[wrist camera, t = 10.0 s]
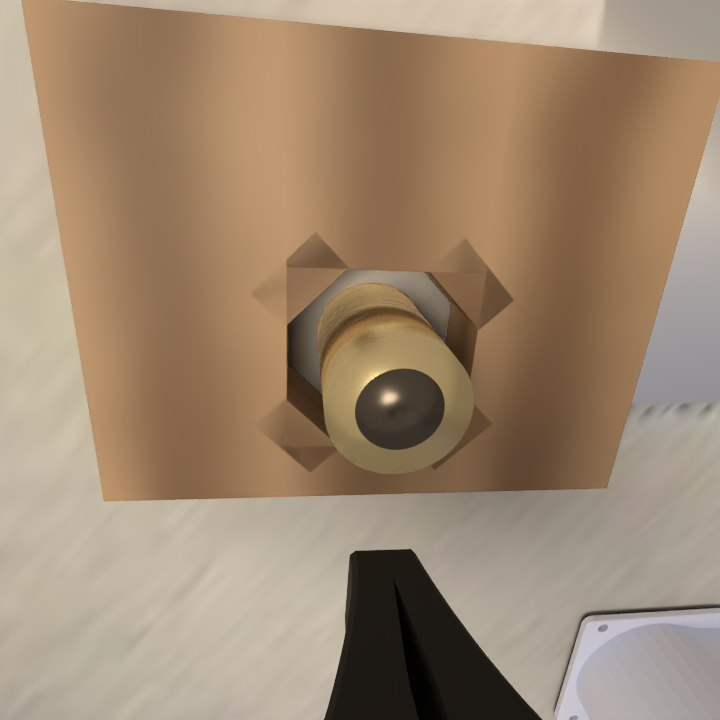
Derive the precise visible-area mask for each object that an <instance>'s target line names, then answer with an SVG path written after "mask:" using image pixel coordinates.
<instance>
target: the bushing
mask: <svg viewBox="0 0 720 720" xmlns="http://www.w3.org/2000/svg"><path fill="white" fill-rule="evenodd" d="M317 345H318V355H319V365H320V376H321V386H322V396H323V407H324V417H325V424H326V428H327V432H328V434H329V437H330V439H331V441H332V442H333V444H334V446H335V447H336V448H337V450H338V451H339V452H340V453H341V454H342V455H343V456H344V457H345V458H346V459H348V460H349V461H350V462H352V463H353V464H355V465H357V466H359V467H361V468H363V469H366V470H368V471H372V472H376V473H382V474H403V473H409V472H414V471H417V470H420V469H423V468H425V467H428V466H430V465H432V464H434V463H435V462H437V461H439V460H440V459H442V458H443V457H444V456H446V455H447V454H448V453H449V452H450V451H451V450H452V449H454V447H455V446H456V445H457V444H458V443H459V442H460V440H461V439H462V437H463V436H464V434H465V432H466V430H467V428H468V426H469V424H470V421H471V418H472V414H473V409H474V394H473V388H472V384H471V381H470V378H469V376H468V374H467V372H466V370H465V369H464V367H463V366H462V364H461V363H460V362H459V361H458V359H457V358H456V357H455V355H454V354H453V353H452V352H451V350H450V349H449V348H448V347H447V345H446V344H445V343H444V342H443V340H442V339H441V338H440V337H439V335H438V334H437V333H436V331H435V330H434V329H433V328H432V326H431V325H430V324H429V323H428V321H427V320H426V319H425V318H424V316H423V315H422V314H421V313H420V311H419V310H418V309H417V307H416V306H415V305H414V304H413V302H412V301H411V300H410V299H409V298H408V297H407V296H406V295H405V294H403V293H402V292H400V291H399V290H397V289H395V288H393V287H390V286H387V285H383V284H375V283H369V284H361V285H357V286H354V287H351V288H349V289H347V290H345V291H343V292H342V293H340V294H338V295H337V296H336V297H335V298H334V299H333V300H332V301H331V302H330V303H329V304H328V305H327V307H326V308H325V310H324V312H323V313H322V315H321V318H320V321H319V324H318V329H317Z"/></svg>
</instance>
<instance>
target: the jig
mask: <svg viewBox="0 0 720 720" xmlns="http://www.w3.org/2000/svg"><path fill="white" fill-rule="evenodd" d="M21 1H22V7H23V13H24V19H25V26H26V32H27V38H28V44H29V50H30V56H31V62H32V68H33V74H34V80H35V86H36V92H37V98H38V104H39V110H40V116H41V123H42V129H43V135H44V141H45V147H46V153H47V159H48V165H49V171H50V177H51V183H52V189H53V195H54V201H55V207H56V213H57V219H58V226H59V232H60V238H61V244H62V250H63V256H64V262H65V268H66V274H67V280H68V286H69V292H70V298H71V304H72V310H73V316H74V323H75V329H76V335H77V341H78V347H79V353H80V359H81V365H82V371H83V377H84V383H85V389H86V395H87V401H88V407H89V413H90V420H91V426H92V432H93V438H94V444H95V450H96V456H97V462H98V468H99V474H100V480H101V486H102V492H103V498H104V501H138V500H176V499H214V498H252V497H290V496H328V495H366V494H404V493H443V492H481V491H519V490H557V489H595V488H607V486H608V482H609V479H610V475H611V472H612V468H613V465H614V461H615V458H616V454H617V451H618V447H619V444H620V440H621V437H622V433H623V430H624V426H625V423H626V420H627V416H628V413H629V409H630V406H631V402H632V399H633V395H634V392H635V388H636V384H637V381H638V378H639V374H640V371H641V367H642V364H643V360H644V357H645V353H646V350H647V347H648V343H649V339H650V336H651V333H652V329H653V326H654V322H655V319H656V315H657V312H658V308H659V305H660V301H661V298H662V294H663V291H664V287H665V284H666V281H667V277H668V273H669V270H670V267H671V263H672V259H673V256H674V253H675V249H676V246H677V242H678V239H679V235H680V232H681V228H682V225H683V221H684V218H685V214H686V211H687V208H688V204H689V201H690V197H691V194H692V190H693V187H694V183H695V179H696V176H697V173H698V169H699V166H700V162H701V159H702V156H703V152H704V149H705V145H706V141H707V138H708V135H709V131H710V128H711V124H712V121H713V117H714V114H715V110H716V107H717V103H718V100H719V96H720V63H719V62H709V61H699V60H688V59H678V58H667V57H657V56H646V55H636V54H625V53H614V52H604V51H594V50H583V49H572V48H562V47H551V46H541V45H530V44H520V43H509V42H499V41H488V40H478V39H467V38H457V37H446V36H435V35H425V34H414V33H404V32H393V31H383V30H372V29H362V28H351V27H341V26H330V25H320V24H309V23H298V22H288V21H277V20H267V19H256V18H246V17H235V16H225V15H214V14H204V13H193V12H182V11H172V10H161V9H151V8H140V7H130V6H119V5H109V4H98V3H88V2H77V1H67V0H21ZM347 269H356V270H387V271H418V272H425V273H426V274H427V275H428V277H429V278H430V279H431V280H432V281H433V282H434V284H435V285H436V286H437V287H438V288H439V290H440V291H441V292H442V293H443V294H444V295H445V297H446V298H447V299H448V300H449V301H450V302H451V308H450V316H449V324H448V332H447V340H446V345H447V347H448V348H449V349H450V350H451V352H452V353H453V354H454V355H455V357H456V358H457V359H458V361H459V362H460V363H461V364H462V366H463V367H464V369H465V370H466V372H467V374H468V376H469V378H470V381H471V384H472V388H473V394H474V409H473V414H472V418H471V421H470V424H469V426H468V428H467V430H466V432H465V434H464V436H463V437H462V439H461V440H460V442H459V443H458V444H457V445H456V446H455V447H454V449H452V450H451V451H450V452H449V453H448V454H447V455H446V456H444V457H443V458H442V459H440V460H439V461H437V462H435V463H434V464H432V465H430V466H428V467H425V468H423V469H420V470H417V471H414V472H409V473H403V474H382V473H376V472H372V471H368V470H366V469H363V468H361V467H359V466H357V465H355V464H353V463H352V462H350V461H349V460H348V459H346V458H345V457H344V456H343V455H342V454H341V453H340V452H339V451H338V450H337V448H336V447H335V446H334V444H333V442H332V441H331V439H330V437H329V434H328V432H327V428H326V424H325V417H324V407H323V396H322V395H321V394H320V393H319V392H318V391H317V390H316V389H315V388H314V387H313V386H311V385H310V384H309V383H308V382H307V381H306V380H305V379H304V378H303V377H302V376H301V375H300V374H298V373H297V372H296V371H295V370H294V369H293V368H292V367H291V366H290V365H289V364H288V323H290V322H291V321H292V320H293V319H294V318H295V317H296V316H297V315H298V314H299V313H300V312H301V311H302V310H304V309H305V308H306V307H307V306H308V305H309V304H310V303H311V302H312V301H313V300H314V299H315V298H317V297H318V296H319V295H320V294H321V293H322V292H323V291H324V290H325V289H326V288H327V287H328V286H329V285H331V284H332V283H333V282H334V281H335V280H336V279H337V278H338V277H339V276H340V275H341V274H342V273H344V272H345V271H346V270H347Z"/></svg>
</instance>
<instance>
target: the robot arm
mask: <svg viewBox="0 0 720 720" xmlns="http://www.w3.org/2000/svg"><path fill="white" fill-rule="evenodd" d="M345 627H346V633H345V639H344V644H343V648H342V653H341V657H340V661H339V666H338V670H337V674H336V679H335V683H334V687H333V690H332V694H331V698H330V701H329V705H328V709H327V712H326V716H325V719H324V720H542V719H541V718H540V717H539V716H538V715H537V713H536V712H535V711H534V710H533V709H532V708H531V707H530V706H529V705H528V704H527V703H526V702H525V700H524V699H523V698H522V697H521V696H520V695H519V694H518V693H517V691H516V690H515V689H514V688H513V687H512V686H511V685H510V683H509V682H508V681H507V680H506V679H505V678H504V676H503V675H502V674H501V673H500V671H499V670H498V669H497V668H496V667H495V665H494V664H493V663H492V662H491V661H490V659H489V658H488V657H487V656H486V654H485V653H484V652H483V651H482V649H481V648H480V647H479V645H478V644H477V643H476V642H475V640H474V639H473V638H472V636H471V635H470V634H469V632H468V631H467V630H466V628H465V627H464V625H463V624H462V623H461V621H460V620H459V619H458V617H457V616H456V615H455V613H454V612H453V610H452V609H451V608H450V606H449V605H448V603H447V602H446V601H445V599H444V598H443V596H442V595H441V593H440V592H439V590H438V589H437V587H436V586H435V584H434V583H433V581H432V580H431V578H430V577H429V575H428V573H427V572H426V570H425V569H424V567H423V565H422V564H421V562H420V561H419V559H418V557H417V556H416V554H415V553H414V552H413V551H412V550H411V549H403V550H370V551H355V552H353V553H352V554H351V555H350V560H349V573H348V586H347V599H346V613H345ZM554 717H555V719H556V720H720V608H709V609H692V610H676V611H660V612H644V613H627V614H611V615H595V616H588V617H586V618H585V619H584V620H583V621H582V623H581V626H580V630H579V633H578V636H577V639H576V643H575V646H574V649H573V653H572V656H571V659H570V663H569V666H568V669H567V673H566V676H565V679H564V683H563V686H562V689H561V692H560V696H559V699H558V702H557V706H556V709H555V712H554Z"/></svg>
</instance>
